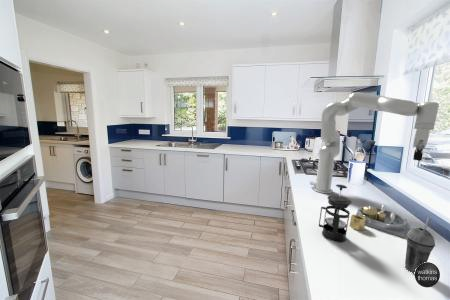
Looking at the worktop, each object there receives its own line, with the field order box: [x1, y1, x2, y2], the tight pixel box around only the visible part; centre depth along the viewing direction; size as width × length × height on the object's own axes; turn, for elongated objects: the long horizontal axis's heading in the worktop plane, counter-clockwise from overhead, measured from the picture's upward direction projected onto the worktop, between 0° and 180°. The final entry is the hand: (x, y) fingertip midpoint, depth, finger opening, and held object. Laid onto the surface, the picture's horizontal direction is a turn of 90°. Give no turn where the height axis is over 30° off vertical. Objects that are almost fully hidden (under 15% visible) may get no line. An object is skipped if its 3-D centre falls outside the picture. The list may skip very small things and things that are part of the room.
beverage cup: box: [404, 216, 436, 275], centre depth 73 cm, size 7×7×20 cm
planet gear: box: [349, 214, 366, 231], centre depth 102 cm, size 6×6×5 cm
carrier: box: [355, 204, 408, 239], centre depth 109 cm, size 20×20×7 cm
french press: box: [318, 184, 352, 243], centre depth 92 cm, size 12×9×23 cm
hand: (417, 158), depth 115 cm, fingers open, 9 cm apart
